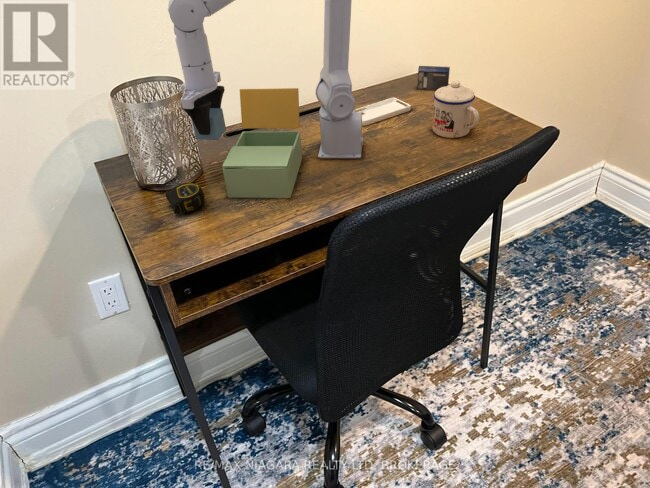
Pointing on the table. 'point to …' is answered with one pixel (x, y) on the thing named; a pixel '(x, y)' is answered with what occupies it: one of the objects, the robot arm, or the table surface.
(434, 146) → the table surface
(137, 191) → the table surface
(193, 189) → the tape measure
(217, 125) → the cube
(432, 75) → the mini dv tape
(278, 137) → the green open box
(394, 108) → the phone case
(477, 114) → the teacup with lid
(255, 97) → the lid
